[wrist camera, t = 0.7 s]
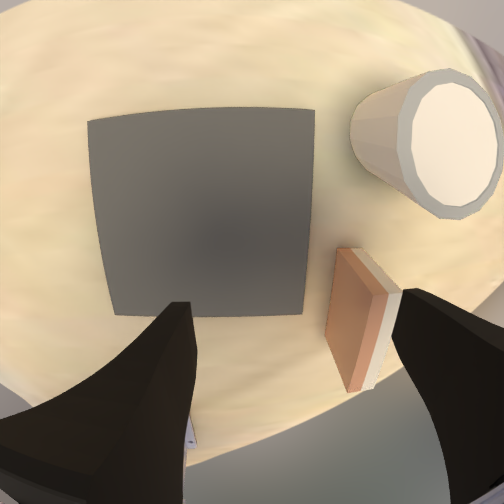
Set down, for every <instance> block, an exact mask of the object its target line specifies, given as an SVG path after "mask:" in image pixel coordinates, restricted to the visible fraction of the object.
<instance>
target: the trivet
mask: <svg viewBox="0 0 504 504" xmlns="http://www.w3.org/2000/svg"><path fill="white" fill-rule="evenodd" d="M87 125H88V147H89V162H90V174H91V185H92V194H93V202H94V210H95V217H96V224H97V231H98V237H99V243H100V249H101V254H102V260H103V265H104V270H105V275H106V279H107V284H108V288H109V293H110V297H111V301H112V305H113V309H114V313H115V315H125V316H158V315H159V314H160V313H161V312H162V311H163V310H164V309H165V308H166V307H167V306H168V305H169V304H170V303H171V302H189V301H190V302H191V310H192V317H242V316H276V315H299V314H302V312H303V302H304V292H305V281H306V270H307V259H308V246H309V233H310V218H311V202H312V183H313V160H314V128H315V110H308V109H292V108H265V107H224V108H197V109H181V110H168V111H157V112H147V113H139V114H131V115H123V116H116V117H109V118H103V119H97V120H91V121H87Z"/></svg>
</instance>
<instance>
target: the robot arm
mask: <svg viewBox="0 0 504 504" xmlns="http://www.w3.org/2000/svg"><path fill="white" fill-rule="evenodd" d="M391 337H392V340H393V343H394V345H395V348H396V350H397V353H398V355H399V357H400V360H401V361H402V363H403V365H404V367H405V368H406V370H407V372H408V374H409V376H410V377H411V379H412V381H413V383H414V384H415V386H416V388H417V389H418V392H419V393H420V395H421V397H422V399H423V400H424V402H425V404H426V406H427V409H428V411H429V413H430V415H431V418H432V421H433V423H434V426H435V429H436V432H437V435H438V438H439V441H440V445H441V448H442V452H443V456H444V460H445V465H446V470H447V474H448V481H449V489H450V499H451V504H504V328H502V327H500V326H497V325H495V324H492V323H490V322H488V321H486V320H484V319H482V318H479V317H477V316H475V315H473V314H471V313H469V312H467V311H465V310H463V309H461V308H459V307H457V306H455V305H453V304H451V303H449V302H447V301H445V300H443V299H441V298H439V297H437V296H435V295H433V294H431V293H429V292H426V291H424V290H421V289H418V288H414V289H404V290H403V293H402V297H401V301H400V305H399V309H398V313H397V317H396V321H395V324H394V328H393V331H392V335H391ZM196 368H197V345H196V338H195V332H194V325H193V317H192V310H191V302H190V301H189V302H171V303H170V304H169V305H168V306H167V307H166V308H165V309H164V310H163V311H162V312H161V313H160V314H159V315H158V316H157V318H156V319H155V320H154V321H153V322H152V323H151V324H150V325H149V326H148V327H147V328H146V329H145V330H144V331H143V332H142V333H141V334H140V335H139V336H138V337H137V338H136V339H135V340H134V341H133V342H132V343H131V344H130V345H129V346H128V347H126V348H125V349H124V350H123V351H122V352H121V353H120V354H119V355H118V356H116V357H115V358H114V359H113V360H112V361H110V362H109V363H108V364H107V365H105V366H104V367H103V368H101V369H100V370H99V371H97V372H96V373H94V374H93V375H92V376H90V377H89V378H87V379H85V380H84V381H82V382H81V383H79V384H77V385H76V386H74V387H72V388H71V389H69V390H68V391H66V392H64V393H62V394H60V395H58V396H57V397H55V398H53V399H51V400H49V401H47V402H44V403H42V404H40V405H38V406H36V407H33V408H31V409H29V410H26V411H23V412H21V413H18V414H15V415H12V416H9V417H6V418H3V419H0V489H1V490H3V491H4V492H5V493H6V494H8V495H9V496H10V497H11V498H13V499H14V500H15V501H17V502H18V503H19V504H186V500H184V499H183V490H184V479H185V467H186V456H187V448H190V449H194V448H196V447H197V443H196V439H195V435H194V431H193V427H192V423H191V419H190V415H189V412H190V407H191V401H192V396H193V390H194V385H195V379H196ZM0 504H4V503H2V502H0Z"/></svg>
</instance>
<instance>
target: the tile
mask: <svg viewBox="0 0 504 504" xmlns="http://www.w3.org/2000/svg"><path fill="white" fill-rule="evenodd" d="M402 293H403V291H402V290H401V289H400V288H399V287H398V286H397V285H396V283H395V282H394V281H393V280H392V279H391V278H390V277H389V276H388V275H387V274H386V273H385V271H384V270H383V269H382V268H381V267H380V266H379V265H378V264H377V263H376V262H375V261H374V260H373V259H372V258H371V257H370V256H369V254H368V253H367V252H366V251H365V250H364V249H363V248H337V254H336V262H335V270H334V278H333V285H332V292H331V299H330V306H329V312H328V319H327V325H326V331H325V337H326V340H327V342H328V345H329V347H330V350H331V352H332V355H333V357H334V360H335V363H336V365H337V368H338V370H339V373H340V375H341V378H342V381H343V383H344V386H345V389H346V391H347V393H351V392H357V391H363V390H369V389H374V386H375V384H376V381H377V378H378V376H379V373H380V370H381V367H382V364H383V361H384V359H385V356H386V353H387V350H388V346H389V343H390V340H391V335H392V331H393V328H394V324H395V321H396V317H397V313H398V309H399V305H400V301H401V297H402Z"/></svg>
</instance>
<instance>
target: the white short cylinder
mask: <svg viewBox="0 0 504 504" xmlns="http://www.w3.org/2000/svg"><path fill="white" fill-rule="evenodd" d="M350 142H351V145H352V148H353V151H354V154H355V156H356V158H357V159H358V160H359V161H360V163H361V164H362V165H363V166H364V168H365V169H366V170H368V171H369V172H371V173H372V174H374V175H376V176H377V177H379V178H380V179H382V180H383V181H385V182H386V183H388V184H389V185H391V186H392V187H394V188H395V189H397V190H398V191H400V192H401V193H403V194H404V195H405V196H407V197H408V198H410V199H411V200H413V201H414V202H415V203H417V204H418V205H420V206H421V207H423V208H424V209H426V210H427V211H429V212H430V213H432V214H433V215H435V216H436V217H438V218H439V219H453V220H461V219H463V218H465V217H467V216H469V215H471V214H473V213H475V212H477V211H479V210H480V209H481V208H482V207H483V205H484V204H485V203H486V202H487V201H488V199H489V198H490V197H491V196H492V195H493V193H494V191H495V188H496V186H497V183H498V181H499V178H500V176H501V173H502V169H503V160H504V137H503V131H502V126H501V121H500V117H499V115H498V113H497V111H496V108H495V106H494V104H493V102H492V100H491V98H490V97H489V95H488V93H487V92H486V91H485V90H484V89H483V88H482V87H481V86H480V85H479V84H478V83H477V82H476V81H475V80H474V79H473V78H472V77H470V76H468V75H466V74H463V73H461V72H458V71H456V70H453V69H450V68H448V69H441V70H435V71H429V72H426V73H423V74H420V75H418V76H415V77H412V78H410V79H407V80H405V81H402V82H400V83H397V84H395V85H392V86H390V87H387V88H385V89H382V90H380V91H377V92H375V93H373V94H370V95H369V96H367V97H366V98H365V99H364V100H363V101H362V102H361V103H359V104H358V105H357V107H356V109H355V111H354V114H353V116H352V118H351V120H350Z"/></svg>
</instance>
